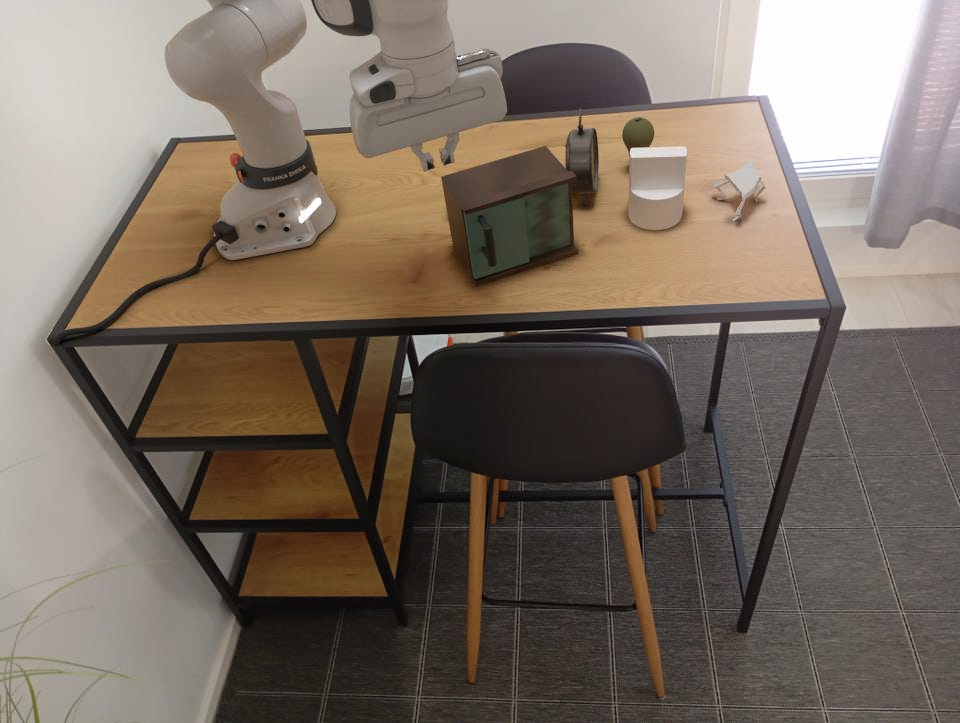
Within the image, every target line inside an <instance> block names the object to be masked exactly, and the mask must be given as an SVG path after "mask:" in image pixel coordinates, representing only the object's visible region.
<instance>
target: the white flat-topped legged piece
mask: <svg viewBox="0 0 960 723" xmlns="http://www.w3.org/2000/svg"><path fill="white" fill-rule="evenodd" d="M723 177H724V178H722V179H720V180H718V181H716V182H714V183H713V184H711V185H712V186H713V187H714V188H715V189H716V190H717V191H718V192H719V193H720V194H721V197H716V200H717V201H722V200H723V201H724V200H728V197H727V196H726V194H725V193H724V192H723V190H721V188H720V187H722V186H724V185H727V184H729V183H730V185H731V186H732V187H733V188H734V190H735V191H736V192H737V193H738V194H739V195H740V197H741V199H742V200H741V202H740V203H739V205H738V207H737V209H736V211H735V217H734V218H732V222H736V221H738V219H740V218H741V217H742V215H741V211H742V210H743V206H744V204H745V202H746V200H747V199H748V198H749V197H750V196H751V195H752V194H753V193H755V192H756V189H757V187H758V186H759V183H760V185H762V187H761V188H760V189H759V191H758V192H757V193H756V195H755V196H754V200H755V202H756V203H759V201H758V199H757V198H758V197H759V196H760V195H761V194H762V192H763V191H764V190H765V189H766V188H767V186H766V184H765V183H764V182H763V181H762V176H761V175H760V174H759V173H758V171H757V170H756V168H755V167H754V165H753V163H752V161H750V162H748V163H747V164H745V165H743V166H742V167H740V168H738V169H737V170H735V171H732V172H730V173H729V174H725V173H724V174H723Z"/></svg>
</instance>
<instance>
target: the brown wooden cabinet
mask: <svg viewBox="0 0 960 723" xmlns="http://www.w3.org/2000/svg"><path fill="white" fill-rule="evenodd" d="M440 178H441V185H442V190H443V196H444V202H445V208H446V214H447V219H448V225H449V232H450V237H451V238H450V239H451V243H452V248H453V249H454V252H455V253H456V255H457V257H458V258H459V260H460V262H461V263H462V265H463V267H464V269H465V270H466V272H467V274H468V275H469V277H470V279H471V281H472V282H473V284H474V286H475V287H479V286H481V285H484V284H488V283H491V282H495V281H497V280H500V279H503V278H506V277H509V276H512V275H516V274H518V273H519V274H520V273H521V272H525V271H528V270H531V269H534V268H537V267H540V266H541V267H542V266H544V265H547V264H550V263H553V262H557V261H559V260H562V259H565V258H568V257H572V256H575V255H577V254H579V249H578V247H577V246H576V244H575V234H574V209H573V208H574V207H573V206H574V205H573V204H574V202H573V192H572V182H574V181H576V175H575V174H574V173H573V172H572V171H569V172H568V171H567V169H566V166H564V165H563V163H562V162H561V161H560V160H559V159H558V158H557V157H556V155H555V154H554V153H553V152H552V151H551V150H550V149H549V147H548V146H547V145H543V146H539V147H537V148H533V149H530V150H526V151H523V152H520V153H516V154H513V155H509V156H506V157H504V158H499V159H496V160H493V161H489V162H486V163H483V164H478V165H476V166H473V167H468V168H466V169H461V170H458V171H455V172H452V173H449V174H445V175H442V176H440ZM521 197H524V204H525V216H526V227H527V239H528V250H529V262H528V263H524V264H521V265H518V266H515V267H512V268H509V269H506V270H503V271H499V272H496V273H493V274H490V275H487V276H484V277H481V278H478V279H474V277H473V272H472V266H471V259H470V253H469V246H468V240H467V233H466V227H465V220H464V214H463V213H465V214H469V213H472V212H475V211H479V210H482V209H485V208H489V207H492V206H495V205H498V204H502V203H505V202H508V201H511V200H515V199H518V198H521Z"/></svg>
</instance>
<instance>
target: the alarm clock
mask: <svg viewBox="0 0 960 723" xmlns="http://www.w3.org/2000/svg"><path fill="white" fill-rule="evenodd" d="M582 110H583V109H582V108H581V107H580V108H579V110H578V125H577V128H573V129H571V130H570V131H569V133H568V134H567V137H566V143H565V145H564V147H565V153H564V154H565V156H564V157H565V161H564V162H565V168H566V169H567V171H568V172H569V171H572V172H573V173H574V174H575V175H576V181H574V182H572V194H575V195H576V194H582V195H583V207H585V208H586V207H588V198H589V196H588V195H589V194H595V193H596V192H597V190H598V183H599V163H600V162H599V161H600V160H599V158H600V157H599V141H598V133H597V129H596V128H595V127H587V128H586V127H585V128H584V125H583V124H582V120H583V119H582V118H583V116H582Z"/></svg>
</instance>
